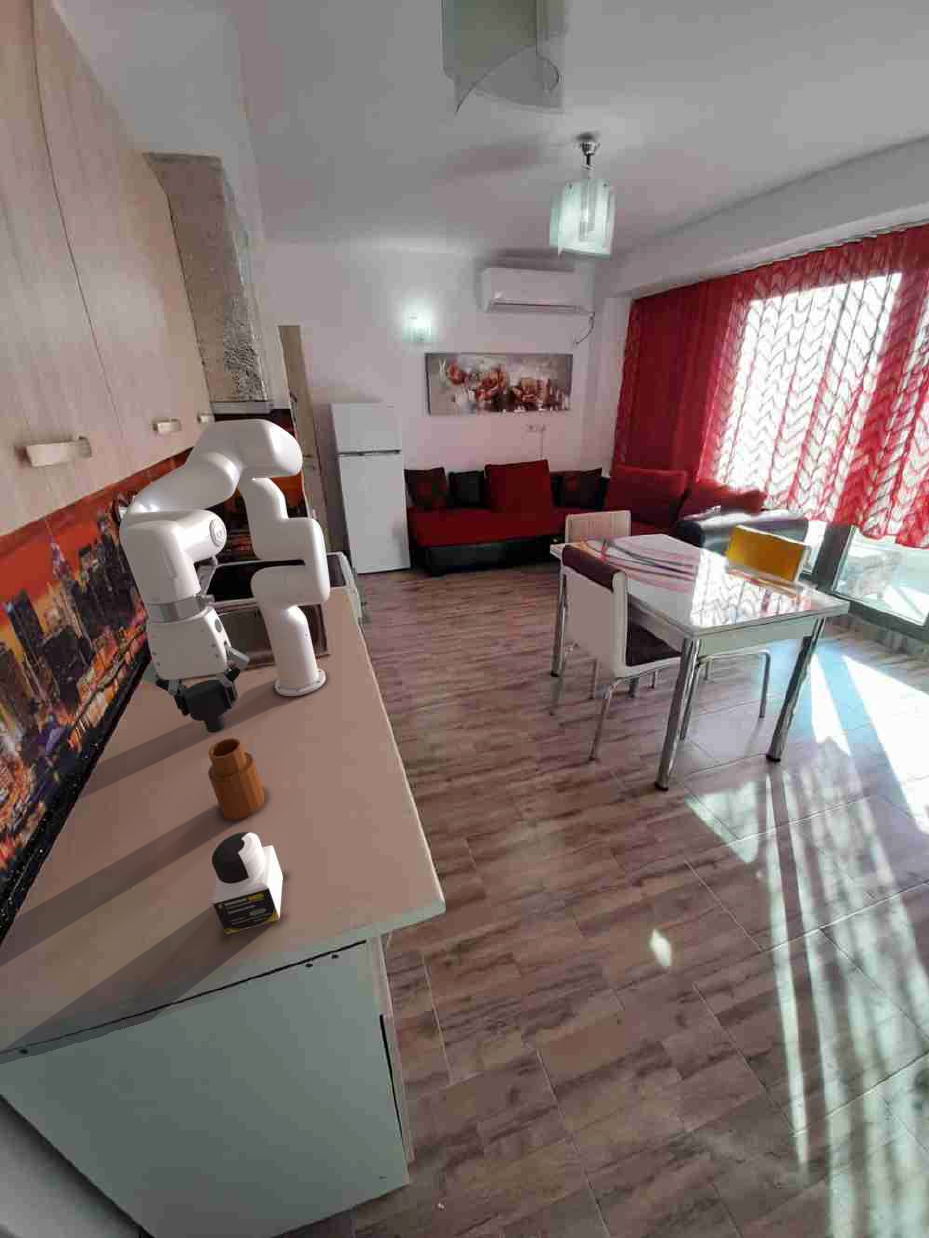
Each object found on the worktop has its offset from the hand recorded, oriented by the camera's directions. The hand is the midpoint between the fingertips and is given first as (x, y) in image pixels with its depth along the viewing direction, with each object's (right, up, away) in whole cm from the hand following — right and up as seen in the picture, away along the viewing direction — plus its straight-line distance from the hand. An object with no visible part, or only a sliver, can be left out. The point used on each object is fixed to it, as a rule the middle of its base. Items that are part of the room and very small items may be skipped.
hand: (210, 706), depth 77 cm
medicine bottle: (+11, -27, -8) cm, 31 cm away
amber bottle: (+1, -19, +9) cm, 22 cm away
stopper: (0, -4, +2) cm, 4 cm away
